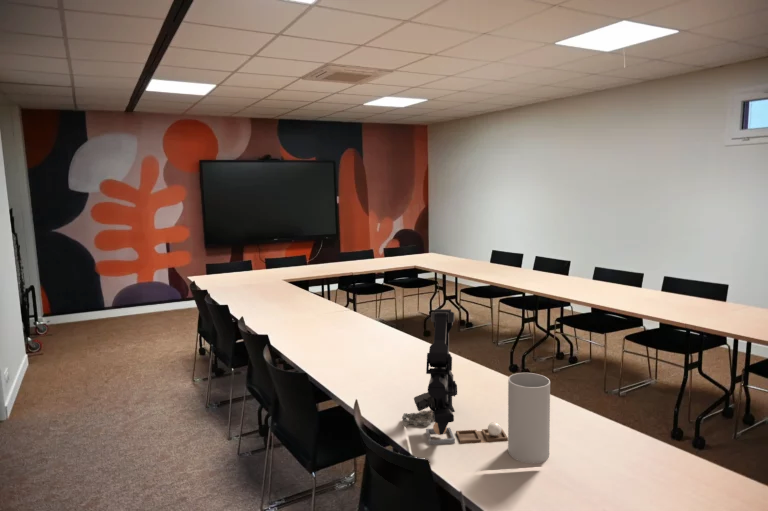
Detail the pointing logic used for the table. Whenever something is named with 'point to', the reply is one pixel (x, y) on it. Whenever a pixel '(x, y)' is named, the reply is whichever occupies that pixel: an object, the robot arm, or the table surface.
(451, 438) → the dish
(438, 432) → the egg brown
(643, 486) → the table surface
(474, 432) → the rack
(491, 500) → the table surface
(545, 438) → the cylinder vase
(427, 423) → the egg carton
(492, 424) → the white smooth ball
